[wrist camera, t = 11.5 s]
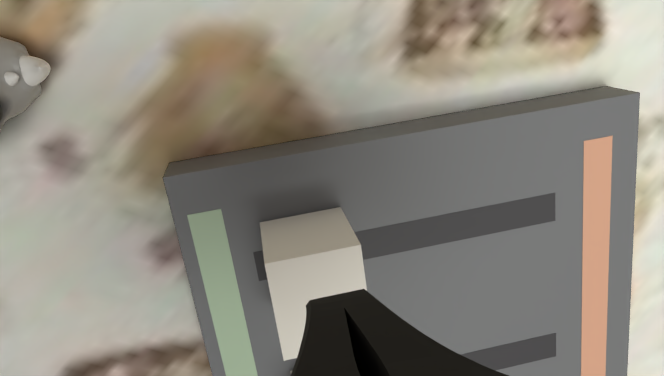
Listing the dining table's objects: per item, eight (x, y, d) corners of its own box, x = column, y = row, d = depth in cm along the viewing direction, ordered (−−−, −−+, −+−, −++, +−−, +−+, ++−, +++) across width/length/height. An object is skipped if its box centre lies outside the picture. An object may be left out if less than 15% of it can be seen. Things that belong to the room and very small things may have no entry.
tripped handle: (276, 306, 21) (283, 360, 18) (259, 222, 20) (264, 264, 16) (352, 290, 21) (373, 340, 18) (340, 207, 20) (360, 244, 17)
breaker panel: (263, 545, 27) (265, 585, 25) (169, 162, 21) (162, 177, 19) (597, 459, 29) (622, 490, 27) (606, 86, 23) (640, 92, 21)
